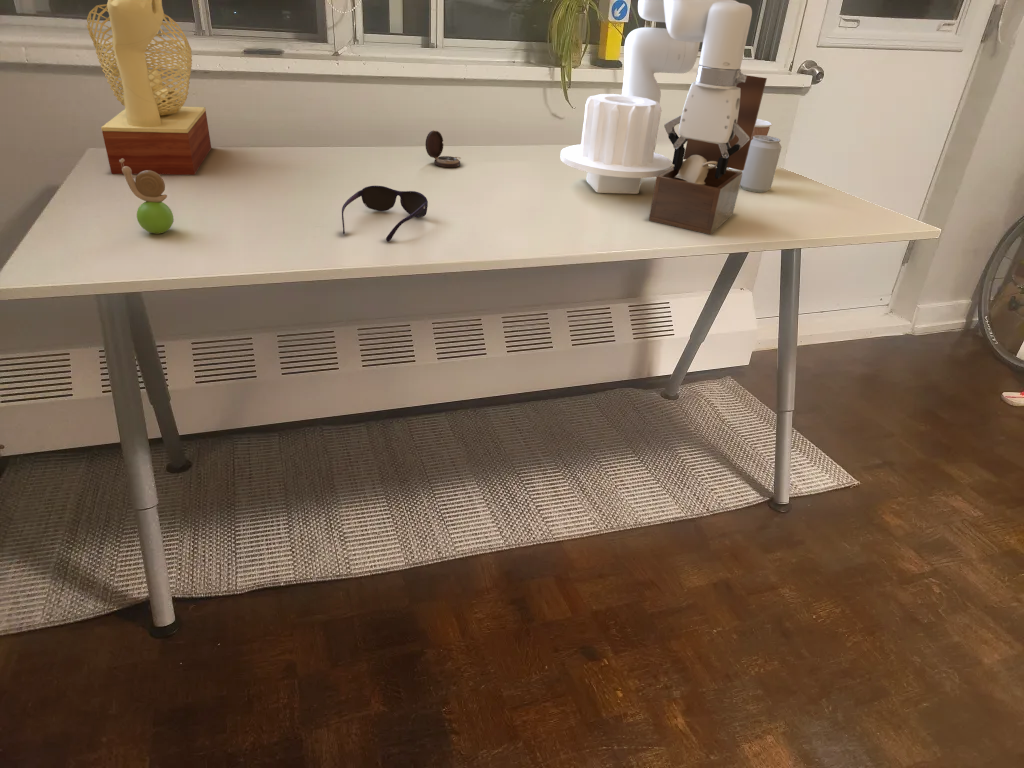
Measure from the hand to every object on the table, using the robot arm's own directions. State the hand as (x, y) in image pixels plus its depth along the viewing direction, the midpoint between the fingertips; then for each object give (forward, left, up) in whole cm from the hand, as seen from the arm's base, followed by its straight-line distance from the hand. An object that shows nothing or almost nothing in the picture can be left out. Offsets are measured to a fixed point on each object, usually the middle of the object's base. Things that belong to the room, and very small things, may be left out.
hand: (697, 172), depth 140 cm
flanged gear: (-22, +11, -10) cm, 27 cm away
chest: (0, +2, -10) cm, 10 cm away
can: (+5, +35, -10) cm, 37 cm away
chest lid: (0, +11, +8) cm, 14 cm away
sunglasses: (-44, -44, -10) cm, 63 cm away
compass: (-61, +1, -10) cm, 62 cm away
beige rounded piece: (0, 0, -2) cm, 2 cm away
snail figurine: (-70, -72, -10) cm, 101 cm away
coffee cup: (-3, +53, -10) cm, 54 cm away
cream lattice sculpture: (-107, -42, -10) cm, 115 cm away
